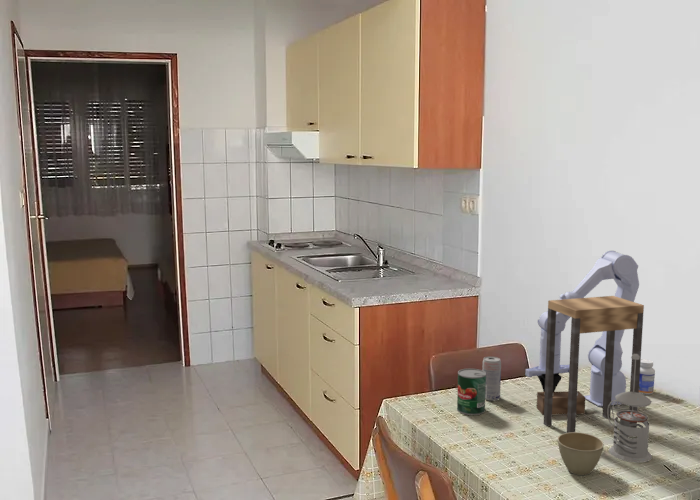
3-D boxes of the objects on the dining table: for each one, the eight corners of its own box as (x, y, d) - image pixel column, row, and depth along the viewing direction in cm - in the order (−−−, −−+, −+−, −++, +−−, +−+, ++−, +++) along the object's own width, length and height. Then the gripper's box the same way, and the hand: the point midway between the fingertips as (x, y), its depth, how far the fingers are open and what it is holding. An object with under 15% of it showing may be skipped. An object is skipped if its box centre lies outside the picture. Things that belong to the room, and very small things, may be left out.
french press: (632, 465, 160) (638, 362, 156) (593, 447, 170) (598, 349, 166) (661, 457, 164) (667, 356, 161) (621, 439, 174) (627, 344, 171)
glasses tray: (577, 407, 196) (578, 389, 196) (584, 414, 191) (585, 395, 191) (536, 408, 196) (537, 390, 195) (542, 415, 191) (543, 396, 190)
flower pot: (549, 461, 162) (551, 432, 161) (590, 459, 163) (592, 431, 162) (566, 481, 152) (568, 451, 151) (610, 479, 153) (611, 449, 152)
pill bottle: (632, 388, 212) (634, 358, 210) (650, 389, 211) (652, 358, 209) (637, 394, 206) (638, 363, 205) (655, 395, 206) (657, 364, 204)
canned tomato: (454, 413, 192) (454, 375, 191) (460, 403, 200) (461, 367, 198) (482, 417, 189) (483, 378, 188) (487, 407, 197) (488, 370, 195)
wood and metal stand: (606, 415, 190) (613, 295, 185) (636, 432, 178) (643, 305, 174) (543, 424, 184) (548, 300, 179) (569, 442, 173) (575, 310, 168)
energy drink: (499, 395, 206) (500, 356, 205) (501, 401, 201) (502, 361, 199) (481, 394, 207) (481, 356, 205) (482, 400, 202) (483, 361, 200)
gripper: (563, 347, 203) (562, 391, 205) (520, 351, 199) (519, 396, 201) (578, 353, 197) (576, 399, 199) (533, 358, 193) (531, 404, 195)
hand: (548, 398), depth 200 cm, fingers closed
